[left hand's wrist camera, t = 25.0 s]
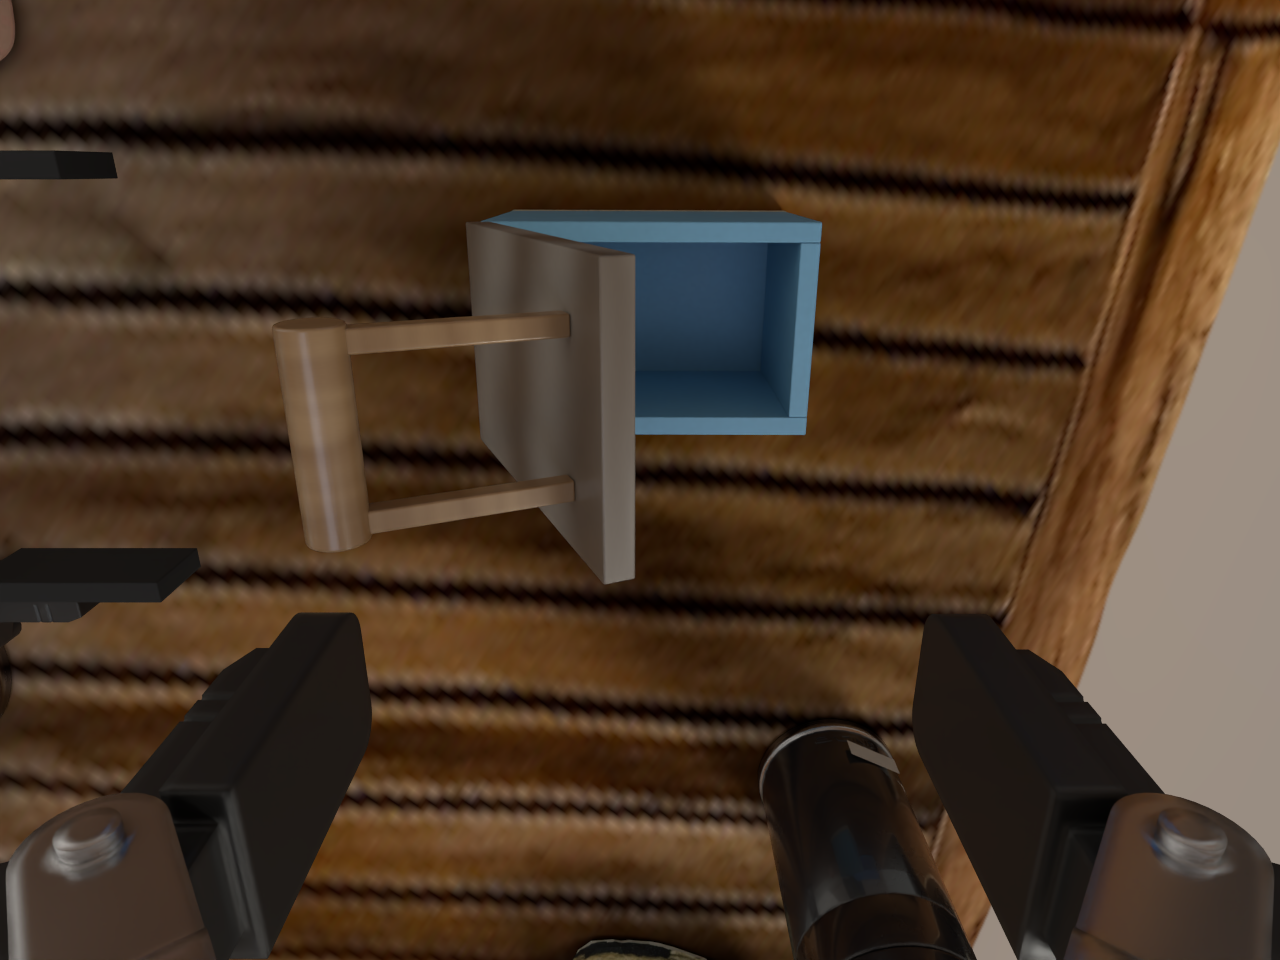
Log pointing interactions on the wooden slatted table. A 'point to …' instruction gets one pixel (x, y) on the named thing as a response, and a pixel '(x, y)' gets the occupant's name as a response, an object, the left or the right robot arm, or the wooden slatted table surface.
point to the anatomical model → (6, 28)
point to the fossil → (631, 951)
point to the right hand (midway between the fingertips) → (139, 388)
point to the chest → (710, 312)
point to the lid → (490, 399)
